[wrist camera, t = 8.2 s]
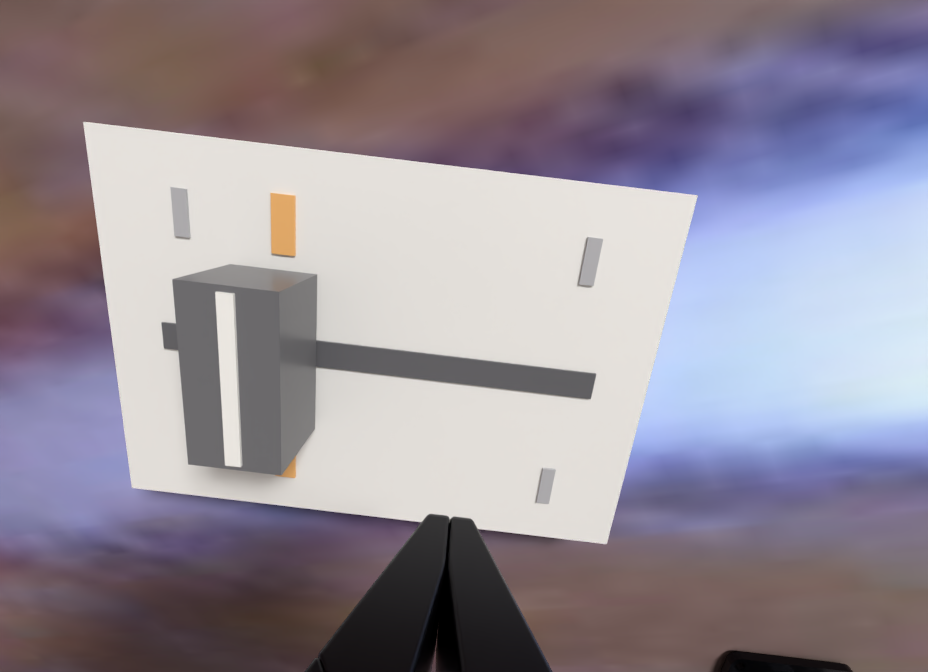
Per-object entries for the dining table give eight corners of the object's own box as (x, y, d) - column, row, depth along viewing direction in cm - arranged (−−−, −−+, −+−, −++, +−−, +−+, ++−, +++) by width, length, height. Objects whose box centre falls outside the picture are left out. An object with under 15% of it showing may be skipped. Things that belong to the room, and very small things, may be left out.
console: (666, 196, 17) (699, 195, 14) (592, 504, 21) (607, 545, 18) (140, 132, 17) (80, 121, 14) (172, 454, 21) (130, 489, 18)
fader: (317, 274, 15) (277, 292, 12) (315, 428, 17) (280, 477, 14) (230, 264, 15) (169, 279, 12) (237, 419, 17) (186, 466, 14)
